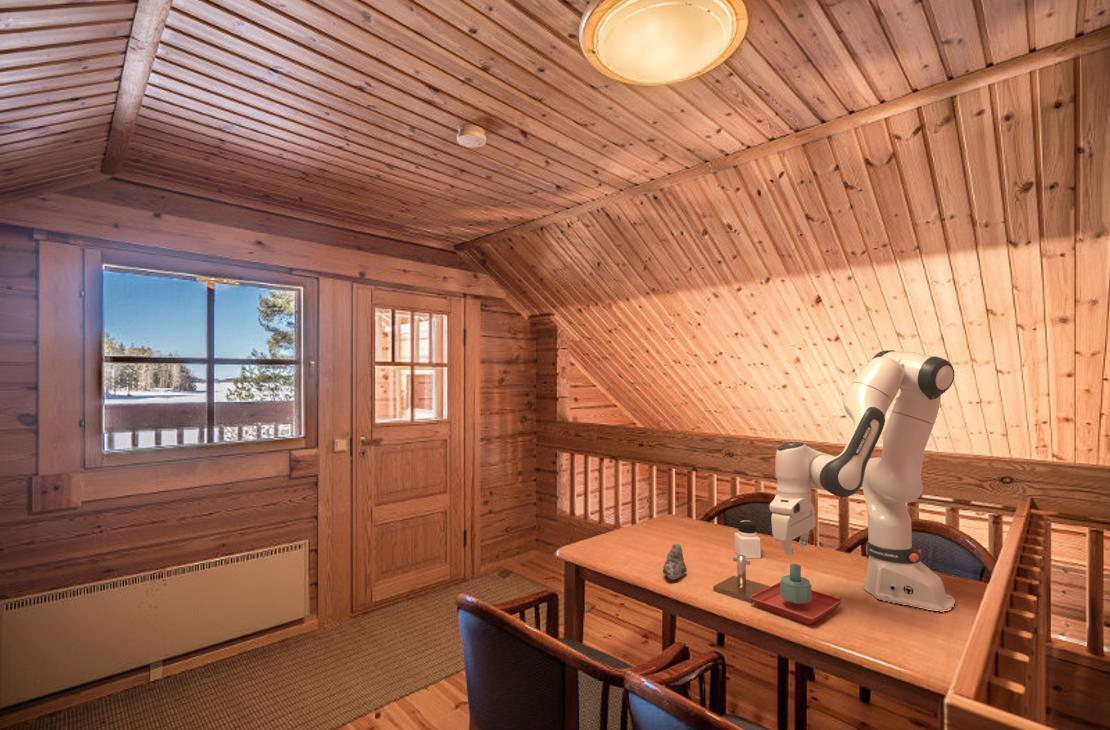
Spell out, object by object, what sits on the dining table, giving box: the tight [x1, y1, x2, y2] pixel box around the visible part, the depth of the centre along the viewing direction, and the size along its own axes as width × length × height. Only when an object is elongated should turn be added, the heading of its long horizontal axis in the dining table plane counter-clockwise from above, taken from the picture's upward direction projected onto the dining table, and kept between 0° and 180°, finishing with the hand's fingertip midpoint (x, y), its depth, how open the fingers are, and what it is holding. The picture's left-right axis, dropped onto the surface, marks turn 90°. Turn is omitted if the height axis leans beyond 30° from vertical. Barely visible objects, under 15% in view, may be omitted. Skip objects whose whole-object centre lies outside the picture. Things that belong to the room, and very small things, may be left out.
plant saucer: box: [750, 581, 843, 626], centre depth 150 cm, size 18×18×3 cm
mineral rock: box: [662, 542, 688, 581], centre depth 175 cm, size 13×11×10 cm
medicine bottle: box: [734, 520, 762, 560], centre depth 193 cm, size 7×7×12 cm
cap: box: [779, 563, 812, 603], centre depth 150 cm, size 7×7×9 cm
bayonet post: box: [712, 554, 771, 604], centre depth 161 cm, size 12×12×10 cm
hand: (796, 550), depth 150 cm, fingers open, 8 cm apart
